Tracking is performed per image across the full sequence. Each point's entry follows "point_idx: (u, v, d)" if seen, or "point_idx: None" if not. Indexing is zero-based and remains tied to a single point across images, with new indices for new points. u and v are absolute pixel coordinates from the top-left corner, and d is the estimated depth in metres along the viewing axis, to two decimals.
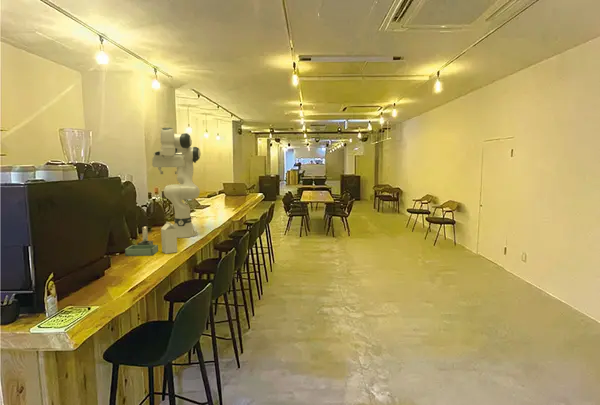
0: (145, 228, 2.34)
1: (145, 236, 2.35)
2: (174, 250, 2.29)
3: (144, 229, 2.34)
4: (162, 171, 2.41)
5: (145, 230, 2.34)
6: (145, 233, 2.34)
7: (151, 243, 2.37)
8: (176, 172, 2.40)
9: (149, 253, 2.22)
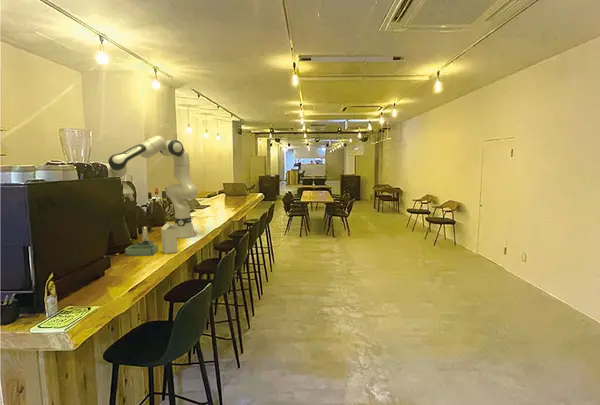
0: (145, 228, 2.34)
1: (145, 236, 2.35)
2: (174, 250, 2.29)
3: (144, 229, 2.34)
4: (130, 198, 2.40)
5: (145, 230, 2.34)
6: (145, 233, 2.34)
7: (151, 243, 2.37)
8: None
9: (149, 253, 2.22)
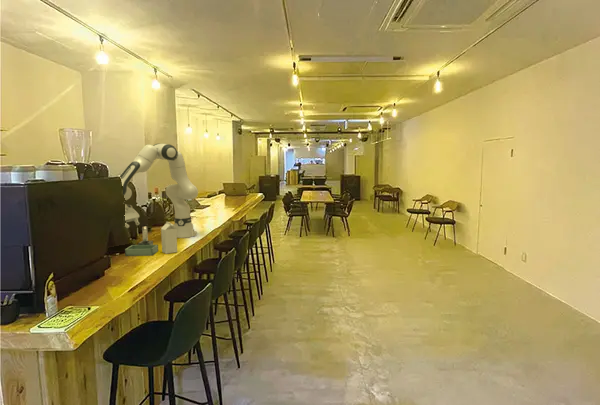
0: (145, 228, 2.34)
1: (145, 236, 2.35)
2: (174, 250, 2.29)
3: (144, 229, 2.34)
4: (136, 222, 2.41)
5: (145, 230, 2.34)
6: (145, 233, 2.34)
7: (151, 243, 2.37)
8: (126, 226, 2.33)
9: (149, 253, 2.22)
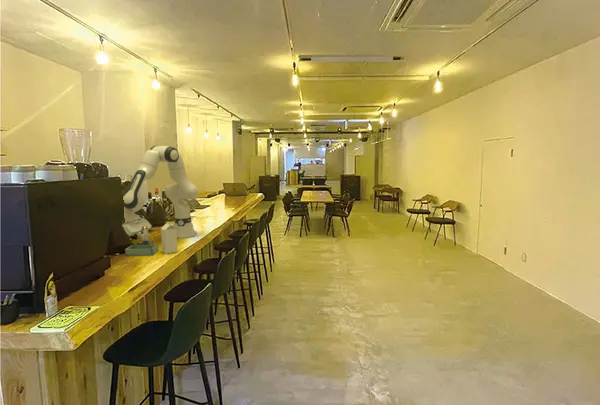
0: (145, 228, 2.34)
1: (145, 236, 2.35)
2: (174, 250, 2.29)
3: (144, 229, 2.34)
4: None
5: (145, 230, 2.34)
6: (145, 233, 2.34)
7: (151, 243, 2.37)
8: None
9: (149, 253, 2.22)
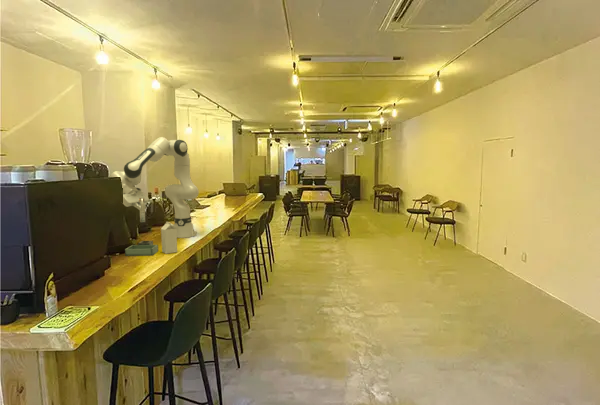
0: (142, 200, 2.29)
1: (142, 208, 2.30)
2: (174, 250, 2.29)
3: (141, 200, 2.29)
4: None
5: (142, 202, 2.29)
6: (142, 205, 2.29)
7: (151, 243, 2.37)
8: (138, 208, 2.29)
9: (149, 253, 2.22)
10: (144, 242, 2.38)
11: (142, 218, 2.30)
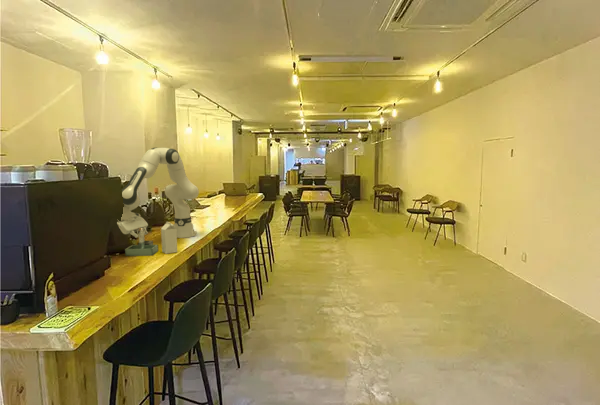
0: (142, 229, 2.25)
1: (141, 238, 2.25)
2: (174, 250, 2.29)
3: (141, 230, 2.25)
4: (144, 231, 2.30)
5: (142, 231, 2.25)
6: (141, 234, 2.25)
7: (151, 243, 2.37)
8: (135, 236, 2.22)
9: (149, 253, 2.22)
10: (144, 242, 2.38)
11: (141, 248, 2.26)
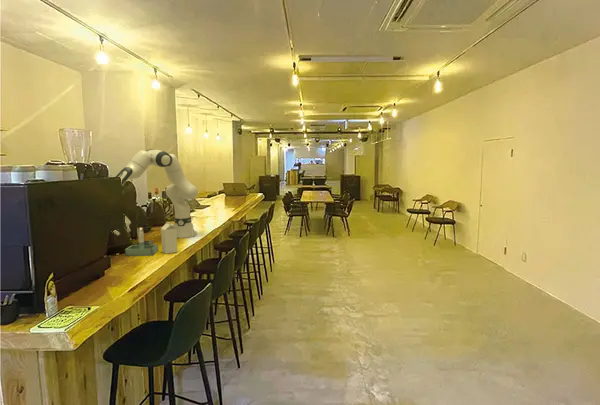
0: (141, 229, 2.25)
1: (141, 238, 2.25)
2: (174, 250, 2.29)
3: (140, 230, 2.25)
4: (127, 229, 2.34)
5: (141, 231, 2.25)
6: (141, 234, 2.25)
7: (151, 243, 2.37)
8: None
9: (149, 253, 2.22)
10: (144, 242, 2.38)
11: (141, 248, 2.26)
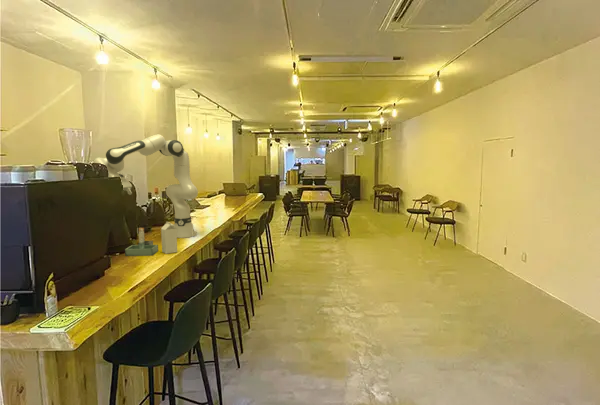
0: (142, 229, 2.25)
1: (141, 238, 2.25)
2: (174, 250, 2.29)
3: (140, 230, 2.25)
4: (128, 191, 2.38)
5: (142, 231, 2.25)
6: (141, 234, 2.25)
7: (151, 243, 2.37)
8: None
9: (149, 253, 2.22)
10: (144, 242, 2.38)
11: (141, 248, 2.26)
